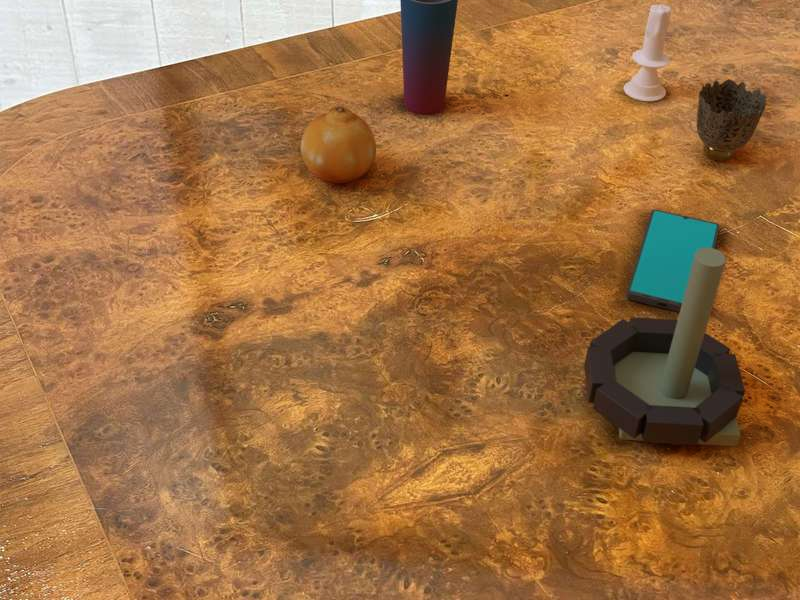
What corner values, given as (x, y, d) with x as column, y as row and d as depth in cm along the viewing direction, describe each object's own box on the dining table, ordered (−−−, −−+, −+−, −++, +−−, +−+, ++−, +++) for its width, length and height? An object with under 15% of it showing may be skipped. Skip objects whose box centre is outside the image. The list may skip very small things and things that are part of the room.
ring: (720, 341, 99) (726, 322, 97) (748, 448, 89) (755, 428, 88) (580, 334, 99) (584, 314, 98) (592, 439, 90) (596, 419, 88)
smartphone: (626, 292, 105) (652, 208, 116) (624, 298, 105) (650, 214, 116) (701, 310, 103) (721, 224, 114) (699, 317, 104) (719, 230, 114)
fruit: (354, 122, 125) (328, 84, 118) (399, 158, 121) (375, 119, 114) (305, 172, 124) (276, 136, 117) (349, 209, 120) (322, 174, 113)
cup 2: (672, 152, 126) (686, 92, 121) (710, 131, 130) (725, 72, 125) (725, 179, 122) (742, 119, 117) (762, 157, 126) (780, 97, 120)
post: (717, 365, 99) (761, 222, 88) (736, 447, 91) (788, 301, 80) (609, 358, 99) (640, 215, 88) (619, 439, 92) (655, 294, 81)
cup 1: (459, 97, 134) (467, -16, 124) (438, 123, 129) (445, 8, 120) (410, 85, 136) (414, -27, 126) (387, 110, 131) (390, -5, 122)
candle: (669, 102, 135) (688, 14, 127) (627, 101, 135) (643, 13, 127) (661, 81, 139) (679, -6, 131) (620, 80, 139) (636, -7, 131)
